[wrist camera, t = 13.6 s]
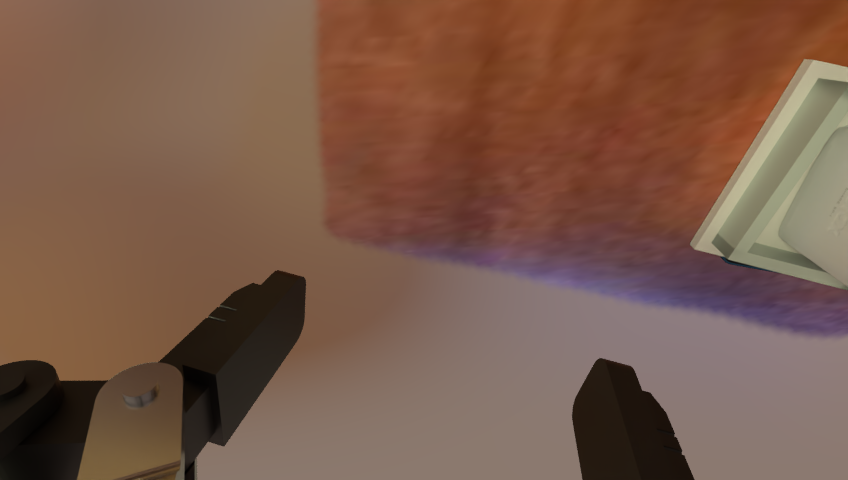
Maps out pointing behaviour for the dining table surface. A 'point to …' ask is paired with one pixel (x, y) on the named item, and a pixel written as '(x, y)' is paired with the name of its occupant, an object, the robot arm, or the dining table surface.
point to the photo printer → (823, 210)
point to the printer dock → (778, 176)
